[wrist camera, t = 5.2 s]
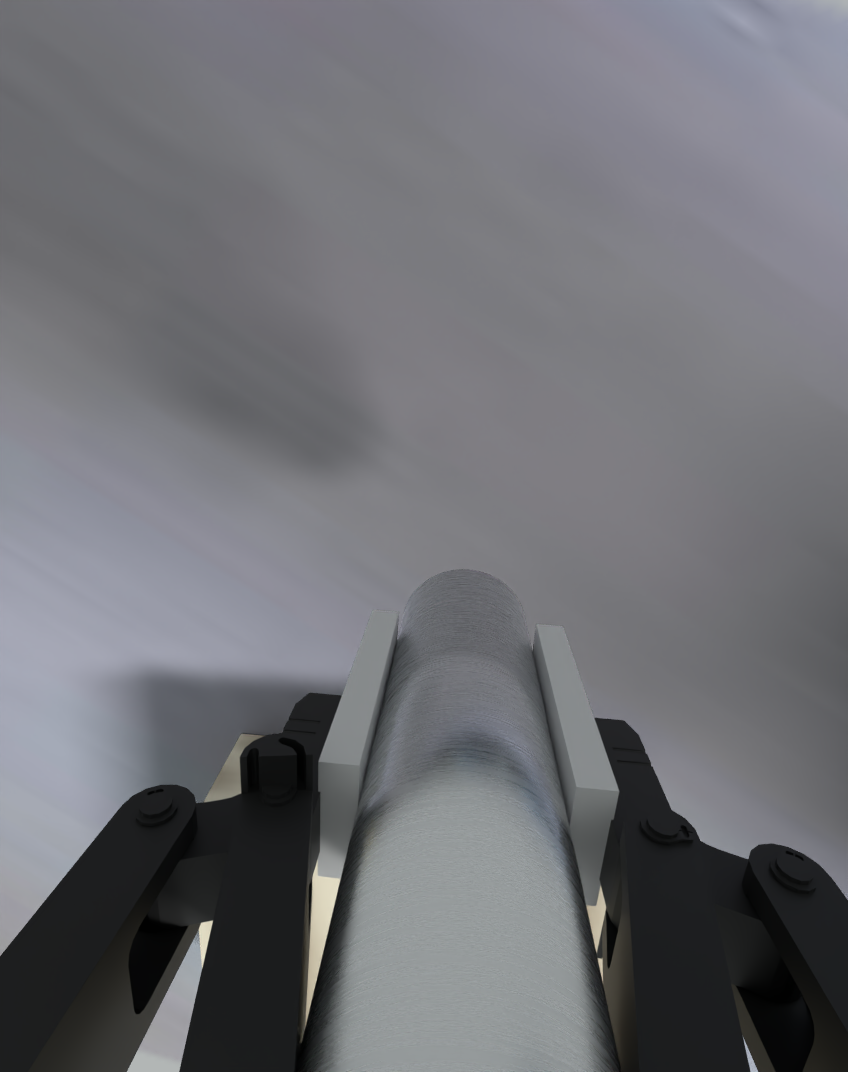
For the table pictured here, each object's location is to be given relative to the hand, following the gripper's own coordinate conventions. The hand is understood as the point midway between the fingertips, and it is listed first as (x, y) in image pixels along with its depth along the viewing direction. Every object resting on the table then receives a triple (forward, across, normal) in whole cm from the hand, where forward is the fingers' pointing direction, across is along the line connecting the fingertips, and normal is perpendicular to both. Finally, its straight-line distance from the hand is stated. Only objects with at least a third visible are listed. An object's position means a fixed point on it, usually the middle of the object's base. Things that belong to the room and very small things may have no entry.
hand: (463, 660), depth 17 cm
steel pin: (+2, 0, 0) cm, 2 cm away
